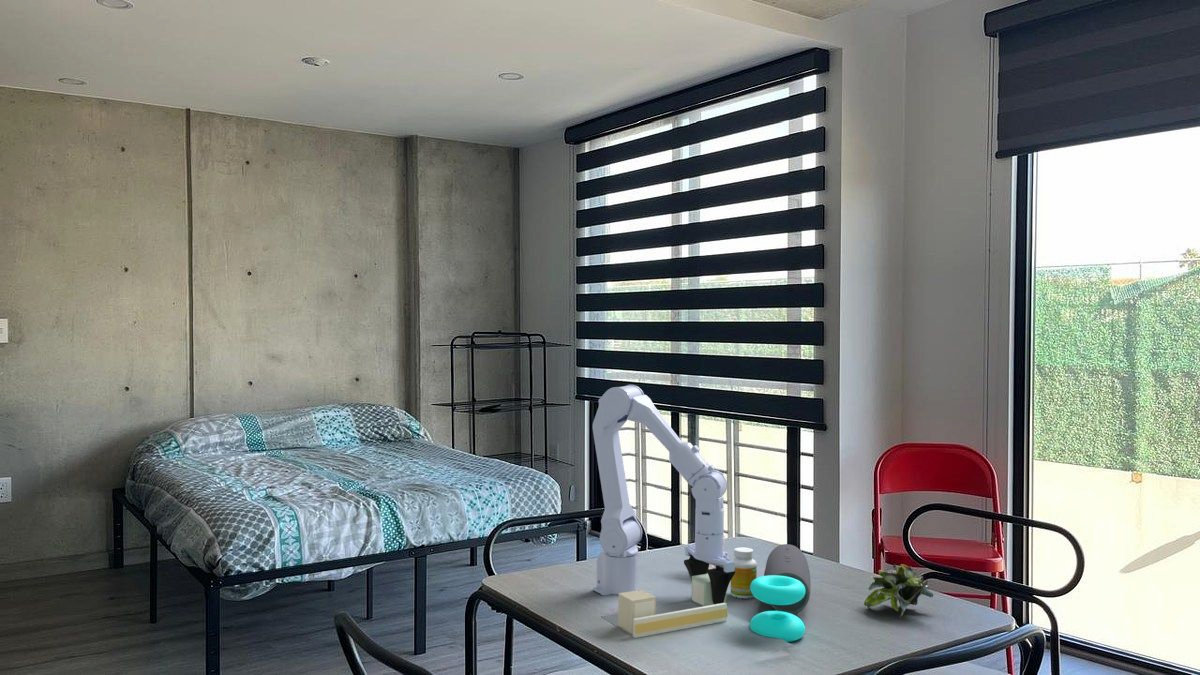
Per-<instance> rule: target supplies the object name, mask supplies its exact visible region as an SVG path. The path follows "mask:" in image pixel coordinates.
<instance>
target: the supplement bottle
mask: <svg viewBox="0 0 1200 675" xmlns="http://www.w3.org/2000/svg"><path fill="white" fill-rule="evenodd" d="M733 550H734V551H733V552H734V553H733V556H734V558H732V559H731V560H732V561H734V562H735V574H734V576H733V577H732V579H731V581H730V595H731V596H732V597H734V598H736V597H737V599H742V598H743V600H745V599H748V598H749V599H753V598H755V597H754V596H753V594H752V593H751V590H750V585H751V583H752V581H753V580H754V579H756V578H757V570H758V569H757V565H758V564H757V561H756V560H755V559H753V557H754V549H753V548H750V547H742V546H741V547H736V548H733Z"/></svg>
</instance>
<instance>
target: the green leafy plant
mask: <svg viewBox="0 0 1200 675" xmlns="http://www.w3.org/2000/svg"><path fill="white" fill-rule="evenodd" d="M892 567H893V570H891V569H890V568H889V569H888V568H886V570H881V569H879V570H878V574H879V577H878V576H874V575H873V576H872V579H873V580H874V581H872V582H871V584H870V585H869V586H868V591H871V590H873V589H875V590H873V591H872V592H871V593H870V594H869V595H868V596H867V597H866V598H865V600H864V602H863V605H864V606H865V607H867V609H870V608H871V607H872V608H873V607H875V606H877V605H880V604H882V603H884V602H886V601H889V600H890V604H891V607H892V609H894V610H895V611H896V612H899V607H900V608H901V613H900V616H899V618H901V619H902V617H903V616H904V615H903V614H904V613H905V611H906V609H907V607H908V606H910V605H912V606H917V605H918V600H919V597H920V596H921V595H923V596H926V597H929V598H933V597H934V593H933V592H931V591H930V590H928V589H930V586H929V585H928V581H929V580H928V579H926V580H925V579H924V576H923V575H921V574H920V575H919V573H918V572H916V571H915V572H914V571H913V570H914V568H913V567H912V566H908V565H906V564H902V563H901V564H900V565H897V564H893V565H892ZM876 588H879V589H876ZM898 602H899V606H898Z"/></svg>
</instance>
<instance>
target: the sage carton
mask: <svg viewBox="0 0 1200 675" xmlns="http://www.w3.org/2000/svg"><path fill="white" fill-rule="evenodd" d="M691 600H692V601H693V602H695V603H697V604H699V605H701V606H702V607H703V606H709V605H715V604H713V600H712V588H711V582H710V578H709V575H708V574H703V575H696V576H692V582H691ZM724 603H726V604H727V594H726V595H725V599H724Z"/></svg>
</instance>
